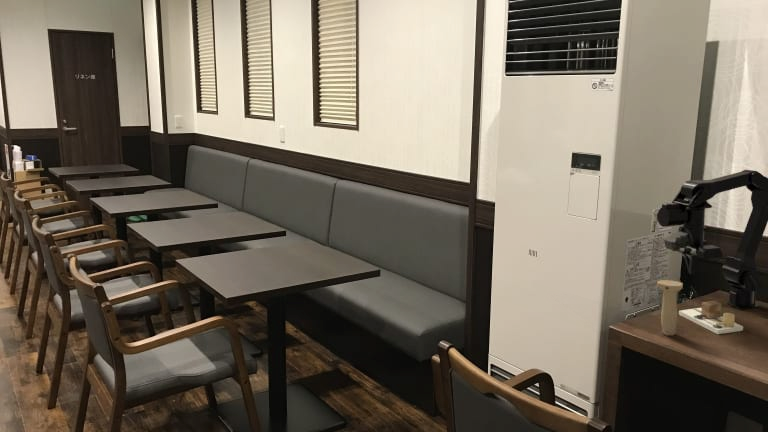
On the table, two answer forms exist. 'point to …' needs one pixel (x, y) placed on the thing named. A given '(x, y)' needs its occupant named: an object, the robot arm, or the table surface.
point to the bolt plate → (713, 321)
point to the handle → (669, 305)
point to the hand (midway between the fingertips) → (691, 274)
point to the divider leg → (710, 309)
